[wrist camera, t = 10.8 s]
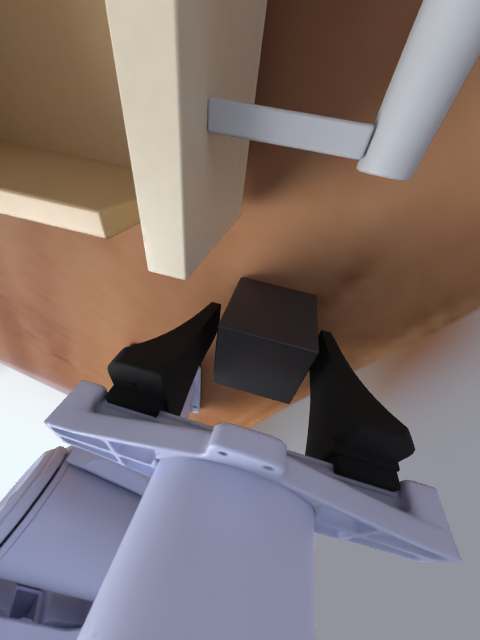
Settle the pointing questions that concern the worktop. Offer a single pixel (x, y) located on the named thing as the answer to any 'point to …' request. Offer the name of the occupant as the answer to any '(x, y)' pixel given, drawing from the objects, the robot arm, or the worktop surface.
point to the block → (266, 340)
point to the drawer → (185, 114)
